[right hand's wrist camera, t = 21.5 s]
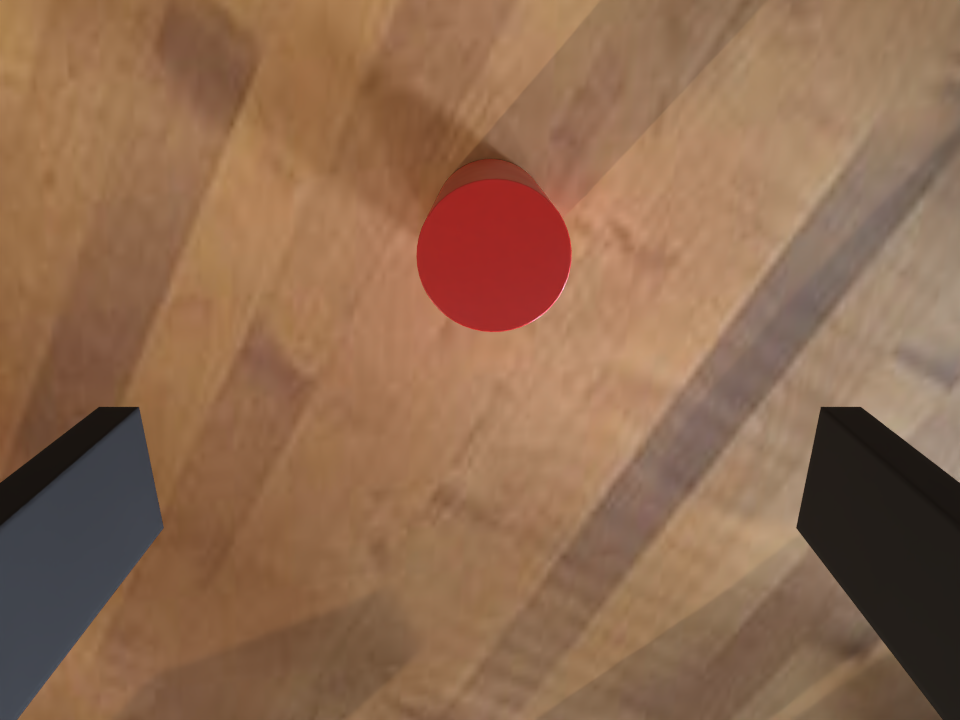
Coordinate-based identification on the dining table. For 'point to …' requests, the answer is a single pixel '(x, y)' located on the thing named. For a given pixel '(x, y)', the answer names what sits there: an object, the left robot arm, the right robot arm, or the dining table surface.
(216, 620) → the dining table surface
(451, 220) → the canister
